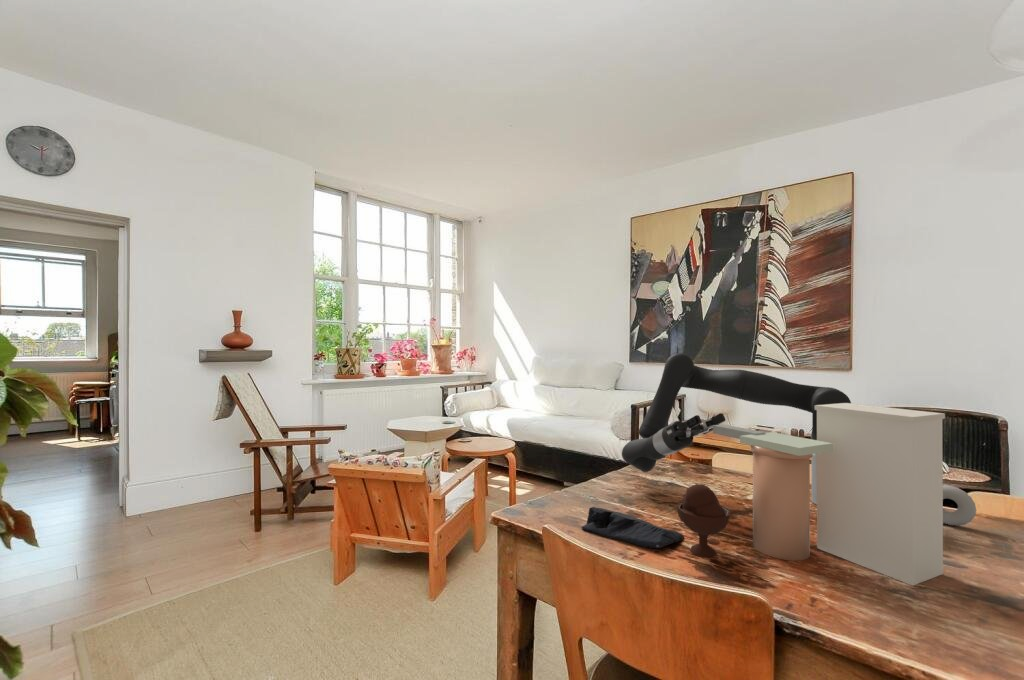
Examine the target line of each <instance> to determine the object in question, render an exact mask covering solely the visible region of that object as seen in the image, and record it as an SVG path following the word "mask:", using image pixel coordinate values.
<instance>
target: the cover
mask: <svg viewBox="0 0 1024 680" xmlns="http://www.w3.org/2000/svg"><path fill="white" fill-rule="evenodd" d="M712 434H714V435H719V436H724V437H728V438H733V439H738V440H739V443H740V444H744V445H749V446H750V445H753V446H757V447H762V448H766V449H771V450H775V451H780V452H784V453H789V454H793V455H798V456H802V455H808V454H815V453H822V452H828V451H833V443H828V442H823V441H817V440H812V439H811V438H806V437H800V436H796V435H795V436H794V435H790V434H785V433H779V432H774V431H769V432H766V431H761V430H760V431H759V430H754V429H750V428H744V427H740V426H734V425H733V426H732V425H728V424H724V423H723V424H722V423H721V424H719V425H713V430H712Z"/></svg>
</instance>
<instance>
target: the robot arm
mask: <svg viewBox="0 0 1024 680" xmlns="http://www.w3.org/2000/svg"><path fill="white" fill-rule="evenodd" d="M659 382H660V383H659V384H658V385H659V386H658V388H657V390H656V393H655V395H654V397H653V399H652V402H651V404H650V405H649V408H648V410H647V412H646V414H645V416H644V418H643V420H642V423H641V424H640V426H639V428H638V435H639V437H641V438H637V439H633V440H630V441H629V442H627V443H625V445H624V446H623V448H622V450H621V458H622V460H624V462H626V464H629V465H631V466H633V467H635V468H636V469H637V470H639V471H641V472H644V473H649V472H650V471H651V470H653V469H654V468H655V466H656V464H657V461H659V460H661V459H664V458H665V457H668V456H670V455H673V454H674V455H675V453H678V452H680V451H682V450H684V449H686V448H688V447H690V446H691V445H692V444H693V441H694V438H696V437H698V436H700V435H701V434H702V435H707V434H708V433H710V432H713V425H721V424H722V423H724V422H725V421H726V417H725V414H724V413H721V412H720V413H718V414H716V415H714V416H712V417H710V418H707V419H703V418H701V416H700V415H697V414H696V415H694V416H692V417H690V418H688V419H684V420H682V421H681V420H676V421H673V422H672V423H670V424H668V422H669V421H670V417H671V414H672V411H673V408H674V405H675V402H676V398H677V396H678V394H679V392H680V391H681V389H682V388H687V389H692V390H693V389H695V390H702V391H706V392H711V393H715V394H719V395H721V396H726V397H729V398H734V399H739V400H743V401H746V402H750V403H756V404H760V405H761V404H762V405H769V406H784V407H790V408H794V409H798V410H800V411H801V410H802V411H805V412H809V413H812V417H811V418H812V424H811V426H812V427H811V428H812V429H811V436H810V437H811V438H810V439H812V440H817V410H815V405H826V404H839V403H851V404H852V402H851V399H850V397H848V395H847V394H846V393H844V392H843V391H841V389H840V390H839V389H837V388H834V387H826V386H819V385H808V384H801V383H796V382H791V381H788V380H785V379H782V378H779V377H776V376H772V375H768V374H764V373H760V372H756V371H755V372H754V371H751V370H745V369H710V368H705V367H701V366H698V365H695V364H694V361H693V359H692V358H691V357H690V356H689V355H688V354H685V353H681V352H678V353H673V354H672V355H670V356H669V357H668V358H667V360H666V361H665V364H664V369H663V371H662V376H661V379H660V381H659ZM810 460H811V461H810V463H811V466H810V467H811V468H810V469H811V470H810V473H811V487H810V488H811V489H810V490H811V492H810V493H811V494H810V496H811V497H810V498H811V503H812V504H813V505H816V506H817V453H815V454H812V457H811V458H810Z"/></svg>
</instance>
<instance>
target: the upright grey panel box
mask: <svg viewBox="0 0 1024 680" xmlns="http://www.w3.org/2000/svg"><path fill="white" fill-rule="evenodd" d="M815 410H817V441H823V442H828V443H833V451H828V452H822V453H817V505H816V548H817V549H818V550H821V551H823V552H825V553H828V554H831V555H834V556H835V557H839V558H840V559H844V560H847V561H849V562H852V563H854V564H856V565H859V566H861V567H863V568H867V569H869V570H872V571H874V572H877V573H879V574H881V575H885V576H887V577H888V578H889V577H890V578H891V579H895V580H897V581H900V582H903V583H905V584H908V585H910V586H915V585H918V584H922V583H924V582H926V581H928V580H931V579H934V578H936V577H939V576H942V575H944V527H943V526H944V523H943V509H944V507H943V505H944V504H943V502H944V499H943V485H944V483H943V481H944V480H943V479H944V478H943V477H944V476H943V475H944V474H943V471H944V470H943V465H944V464H943V463H944V462H943V455H944V454H943V420H944V419H946V413H943V412H933V411H924V410H914V409H905V408H897V407H896V408H895V407H886V406H879V405H870V404H869V405H868V404H859V403H852V402H851V403H839V404H826V405H815Z"/></svg>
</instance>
